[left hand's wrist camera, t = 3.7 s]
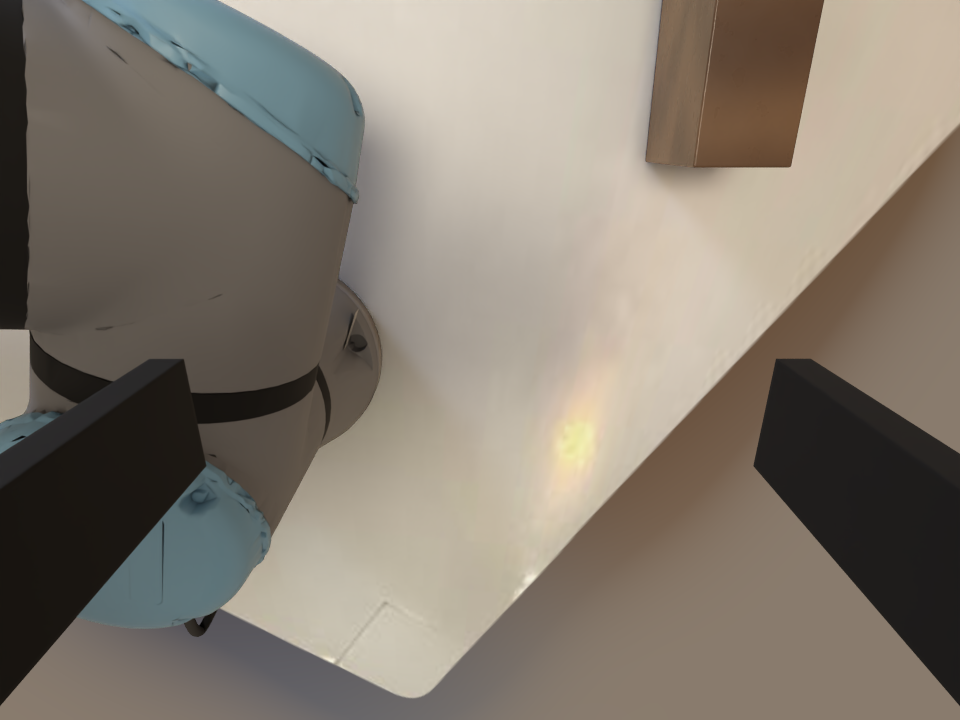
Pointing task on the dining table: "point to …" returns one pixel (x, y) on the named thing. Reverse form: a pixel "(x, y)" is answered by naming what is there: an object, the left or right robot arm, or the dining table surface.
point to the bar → (731, 81)
